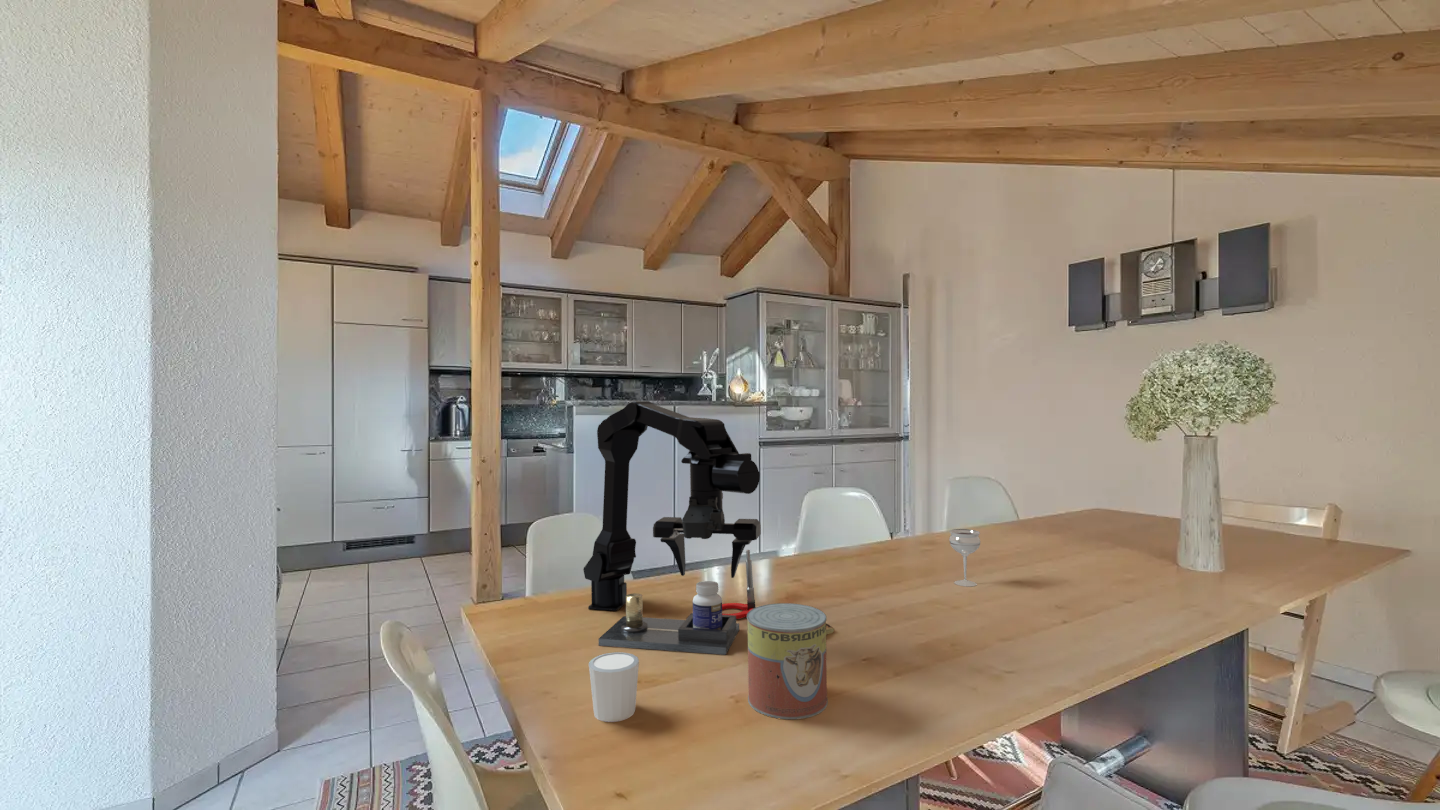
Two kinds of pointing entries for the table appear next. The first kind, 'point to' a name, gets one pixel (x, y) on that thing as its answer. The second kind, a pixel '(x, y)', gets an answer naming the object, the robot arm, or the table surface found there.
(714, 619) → the pill bottle
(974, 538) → the wineglass
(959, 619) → the table surface
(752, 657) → the canned food
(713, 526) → the robot arm
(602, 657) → the white cup
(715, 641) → the metal plate with knob
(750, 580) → the tow hook
